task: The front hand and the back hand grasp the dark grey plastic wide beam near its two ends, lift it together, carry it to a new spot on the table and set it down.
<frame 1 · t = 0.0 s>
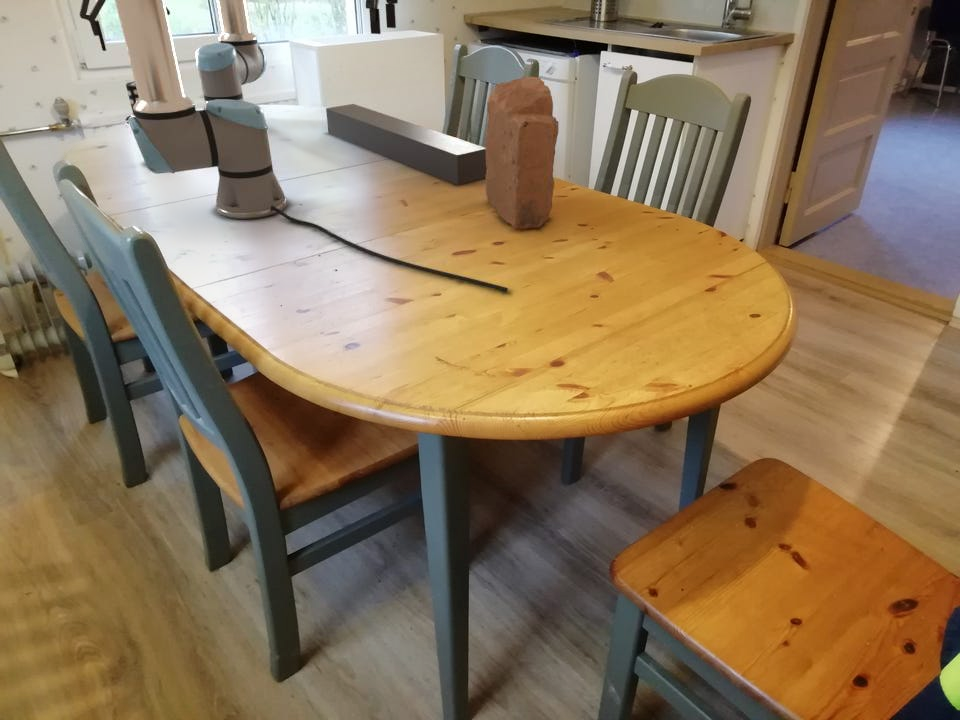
front hand: (133, 48, 174), 28 cm above the table, tool pointing down, fingers open, 13 cm apart
back hand: (383, 30, 206), 28 cm above the table, tool pointing down, fingers open, 13 cm apart
wide beam: (400, 153, 196), on the table
stone: (519, 213, 157), on the table
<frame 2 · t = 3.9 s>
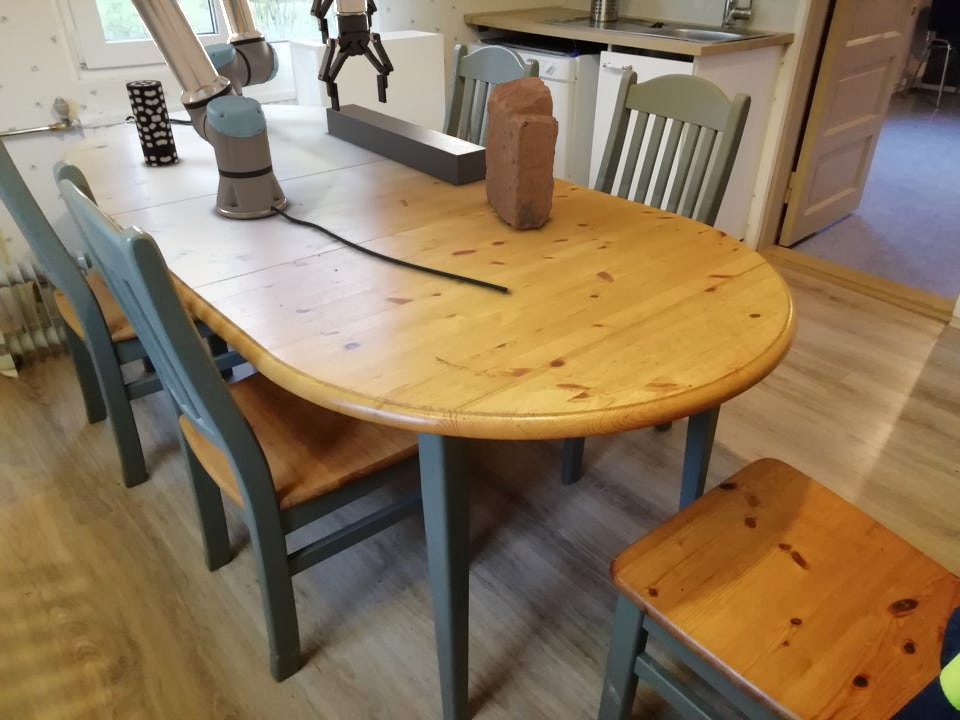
front hand: (359, 106, 175), 16 cm above the table, tool pointing down, fingers open, 13 cm apart
back hand: (347, 42, 197), 26 cm above the table, tool pointing down, fingers open, 13 cm apart
nothing on the table moved.
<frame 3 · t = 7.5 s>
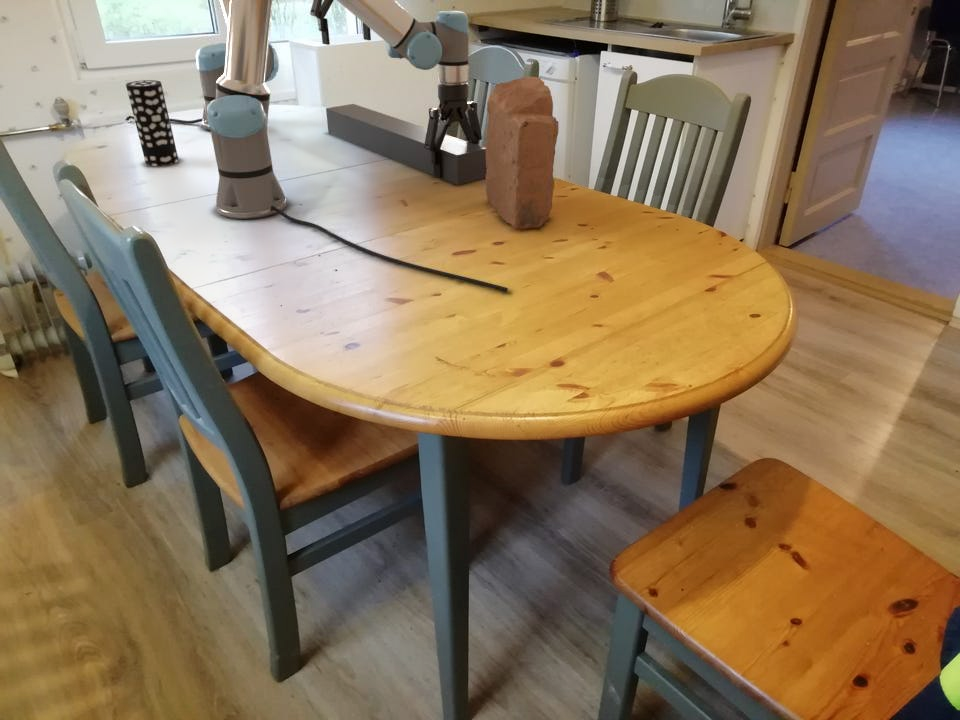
front hand: (454, 172, 180), 0 cm above the table, tool pointing down, fingers closed on wide beam, 10 cm apart
back hand: (347, 42, 197), 26 cm above the table, tool pointing down, fingers open, 13 cm apart
wide beam: (400, 153, 196), on the table, touching front hand
everything else where it was.
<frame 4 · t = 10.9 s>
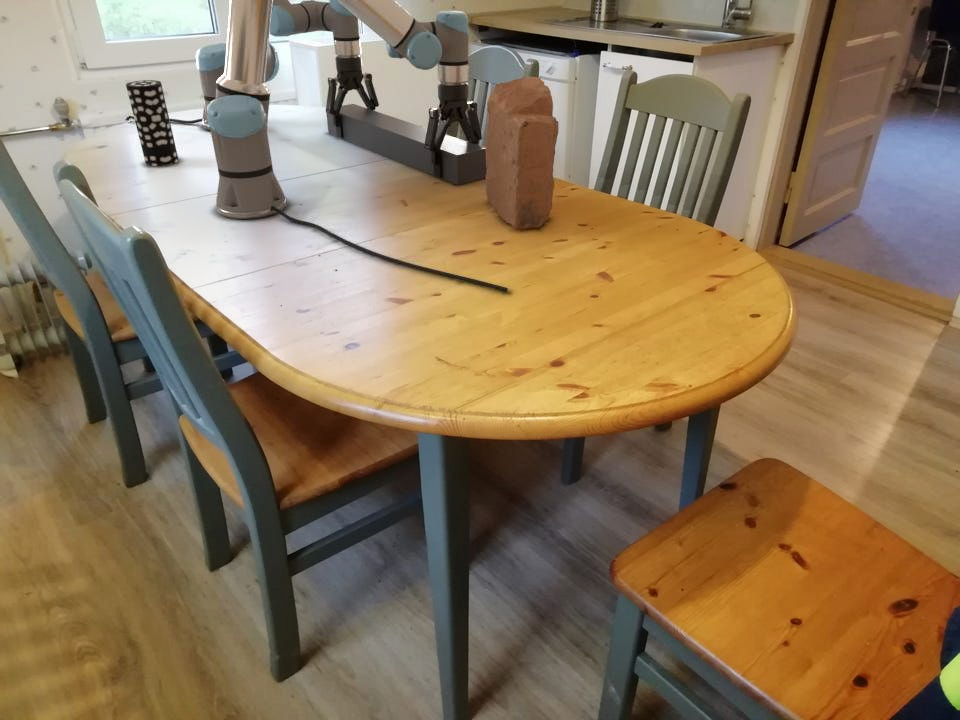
front hand: (454, 172, 180), 0 cm above the table, tool pointing down, fingers closed on wide beam, 10 cm apart
back hand: (355, 134, 211), 0 cm above the table, tool pointing down, fingers closed on wide beam, 10 cm apart
wide beam: (400, 153, 196), on the table, touching front hand, back hand
everything else where it was.
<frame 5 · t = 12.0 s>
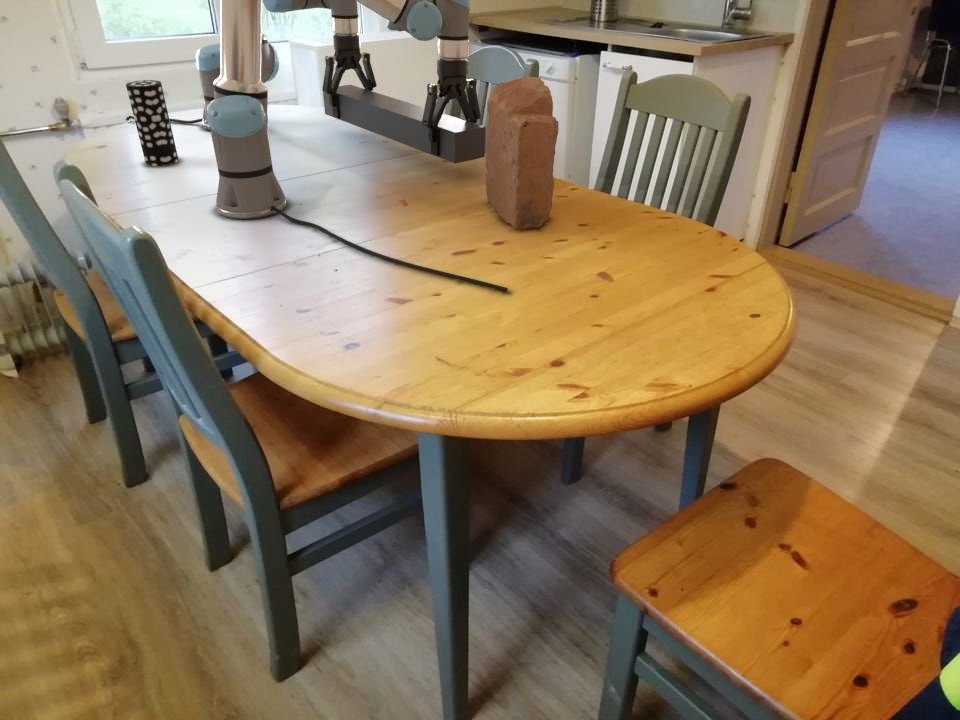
front hand: (451, 151, 177), 6 cm above the table, tool pointing down, fingers closed on wide beam, 10 cm apart
back hand: (351, 114, 208), 6 cm above the table, tool pointing down, fingers closed on wide beam, 10 cm apart
wide beam: (397, 133, 193), point 6 cm above the table, touching front hand, back hand
everything else where it was.
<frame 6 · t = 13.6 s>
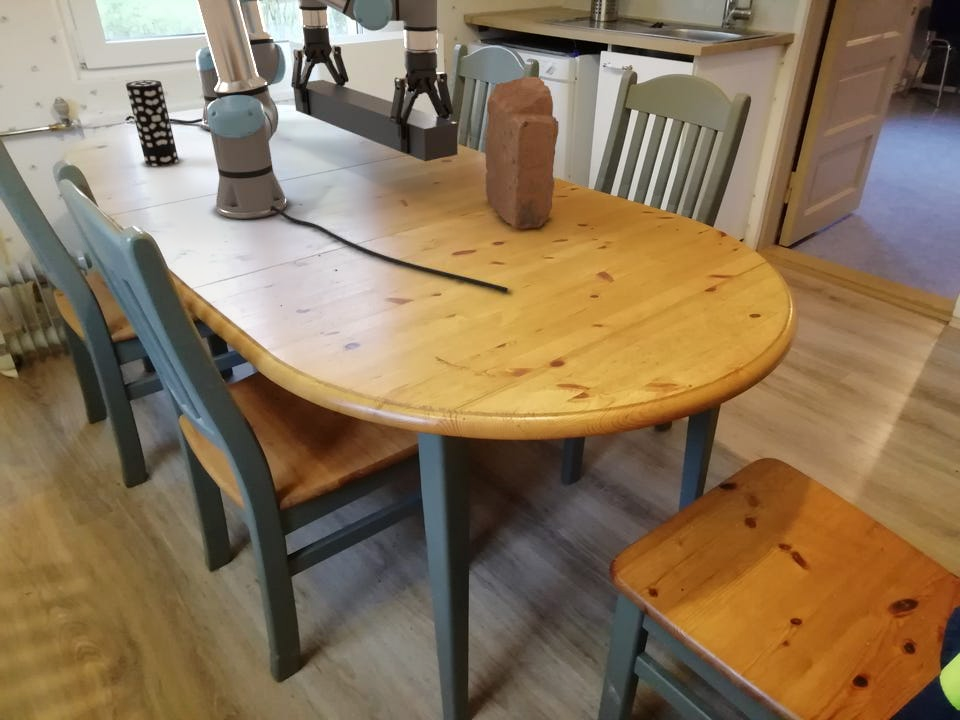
front hand: (422, 148, 169), 9 cm above the table, tool pointing down, fingers closed on wide beam, 10 cm apart
back hand: (323, 111, 199), 9 cm above the table, tool pointing down, fingers closed on wide beam, 10 cm apart
wide beam: (369, 130, 184), point 8 cm above the table, touching front hand, back hand
everything else where it was.
when the front hand's fingers open (2 cm above the table, at t = 16.4 s): wide beam drops 2 cm, on the table.
when the back hand's fingers open (2 cm above the table, at t = 16.4 s): wide beam drops 2 cm, on the table.
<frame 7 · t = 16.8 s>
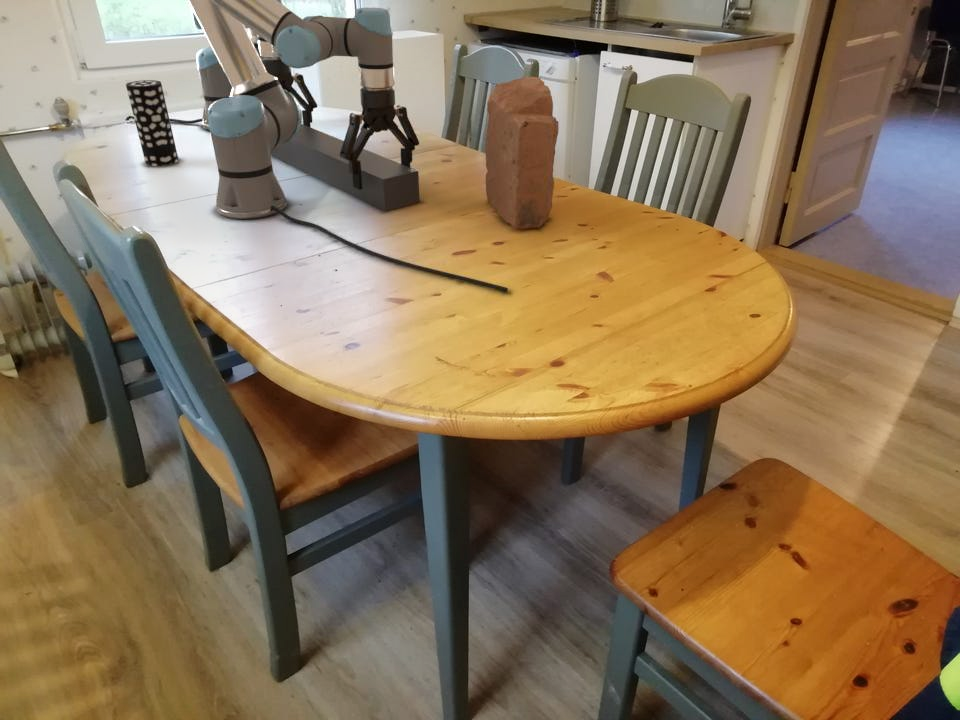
front hand: (382, 182, 162), 4 cm above the table, tool pointing down, fingers open, 13 cm apart
back hand: (286, 139, 193), 4 cm above the table, tool pointing down, fingers open, 13 cm apart
wide beam: (332, 173, 180), on the table
everything else where it was.
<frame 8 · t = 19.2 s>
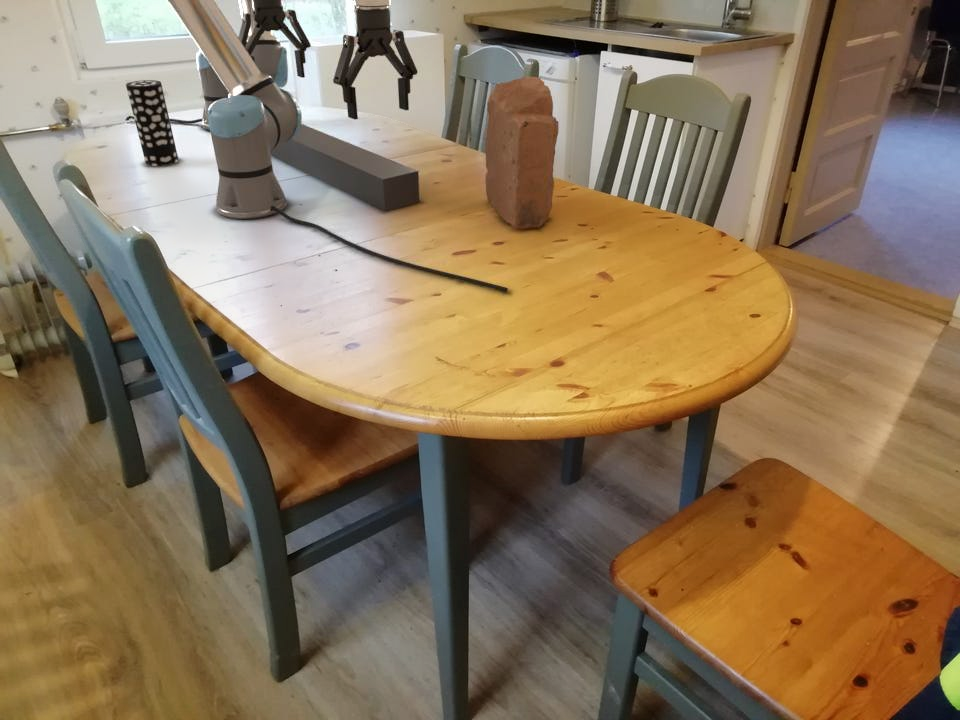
front hand: (379, 113, 154), 20 cm above the table, tool pointing down, fingers open, 13 cm apart
back hand: (278, 79, 184), 20 cm above the table, tool pointing down, fingers open, 13 cm apart
nothing on the table moved.
at the end: wide beam inside the target area (0.2 cm from its centre), on the table; wide beam tilted 0°; wide beam never tilted more than 1° during the clip; both hands held the wide beam at the same time; the front hand is holding nothing; the back hand is holding nothing; wide beam at rest at the end (0.0 cm/s) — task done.
